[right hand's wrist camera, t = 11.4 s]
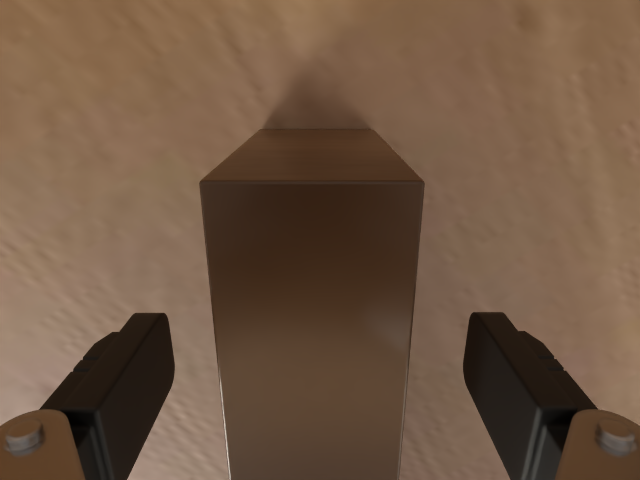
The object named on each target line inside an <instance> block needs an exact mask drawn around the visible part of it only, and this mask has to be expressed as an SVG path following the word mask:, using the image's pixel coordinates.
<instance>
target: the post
mask: <svg viewBox="0 0 640 480" xmlns="http://www.w3.org/2000/svg"><path fill="white" fill-rule="evenodd" d="M199 185H200V195H201V205H202V215H203V225H204V235H205V244H206V254H207V264H208V274H209V284H210V294H211V304H212V314H213V324H214V334H215V343H216V353H217V363H218V373H219V383H220V393H221V403H222V413H223V423H224V433H225V442H226V452H227V462H228V472H229V480H399V473H400V461H401V450H402V438H403V427H404V415H405V404H406V392H407V381H408V369H409V358H410V346H411V335H412V323H413V312H414V300H415V289H416V277H417V266H418V254H419V243H420V231H421V219H422V208H423V196H424V185H425V183H424V181H423V180H422V179H421V178H420V177H419V176H418V175H417V174H416V173H415V172H414V171H413V170H412V169H411V168H410V167H409V166H408V165H407V164H406V162H405V161H404V160H403V159H402V158H401V157H400V156H399V155H398V154H397V153H396V152H395V151H394V150H393V149H392V148H391V147H390V146H389V145H388V144H387V143H386V142H385V141H384V140H383V139H382V138H381V137H380V136H379V135H378V134H377V133H376V132H375V131H374V130H373V129H261V130H259V131H258V132H257V133H256V134H254V135H253V136H252V137H251V138H250V139H249V140H247V141H246V142H245V143H244V144H243V145H242V146H240V147H239V148H238V149H237V150H236V151H235V152H233V153H232V154H231V155H230V156H229V157H228V158H226V159H225V160H224V161H223V162H222V163H221V164H220V165H218V166H217V167H216V168H215V169H214V170H213V171H211V172H210V173H209V174H208V175H207V176H206V177H204V178H203V179H202V180H201V181H200V183H199Z"/></svg>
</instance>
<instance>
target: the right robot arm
mask: <svg viewBox="0 0 640 480" xmlns="http://www.w3.org/2000/svg"><path fill="white" fill-rule="evenodd" d="M174 371H175V364H174V356H173V349H172V342H171V335H170V328H169V321H168V317H167V315H166V314H165V313H135V314H133V315H132V316H131V318H130V319H129V320H128V321H127V323H126V324H125V325H124V327H123V328H122V329H121V330H120V332H112V333H110V334H109V335H107V336H106V337H104V338H103V339H101V340H100V341H98V342H96V343H95V344H94V345H93V346H92V347H91V349H90V350H89V351H88V352H87V353H86V355H85V356H84V357H83V360H80V362H79V363H78V364H77V365H76V366H75V368H74V369H73V372H70V374H69V375H68V376H67V377H66V378H65V379H64V381H63V382H62V383H61V384H60V385H59V387H58V388H57V389H56V390H55V391H54V392H53V394H52V395H51V396H50V397H49V398H48V400H47V401H46V402H45V403H44V404H43V406H42V407H41V408H40V409H39V410H36V411H32V412H28V413H25V414H22V415H20V416H17V417H15V418H13V419H11V420H9V421H8V422H6V423H4V424H3V425H1V426H0V480H127V478H128V476H129V474H130V472H131V470H132V468H133V466H134V464H135V462H136V460H137V458H138V456H139V453H140V451H141V449H142V447H143V445H144V443H145V441H146V439H147V437H148V435H149V433H150V430H151V428H152V426H153V424H154V422H155V420H156V418H157V416H158V414H159V412H160V410H161V407H162V405H163V403H164V401H165V399H166V397H167V395H168V393H169V391H170V389H171V386H172V383H173V379H174ZM463 373H464V379H465V383H466V386H467V388H468V390H469V392H470V395H471V397H472V399H473V401H474V403H475V405H476V407H477V409H478V412H479V414H480V416H481V418H482V420H483V422H484V424H485V426H486V428H487V431H488V433H489V435H490V437H491V439H492V441H493V443H494V445H495V447H496V450H497V452H498V454H499V456H500V458H501V460H502V462H503V464H504V467H505V469H506V471H507V473H508V475H509V477H510V479H511V480H640V426H639V425H637V424H636V423H634V422H632V421H631V420H629V419H627V418H625V417H623V416H620V415H618V414H615V413H612V412H608V411H604V410H598V409H597V407H596V406H595V405H594V404H593V403H592V401H591V400H590V399H589V398H588V397H587V395H586V394H585V393H584V392H583V391H582V389H581V388H580V387H579V386H578V385H577V383H576V382H575V381H574V380H573V379H572V377H571V376H570V375H569V374H568V373H567V371H564V369H563V367H562V365H561V364H560V363H559V362H558V361H557V359H554V356H553V355H552V353H551V352H550V351H549V350H548V349H547V347H546V346H545V345H544V344H543V343H542V342H541V341H539V340H538V339H536V338H534V337H533V336H531V335H530V334H528V333H527V332H525V331H518V330H517V329H516V328H515V327H514V325H513V324H512V323H511V321H510V320H509V319H508V318H507V316H506V315H505V314H504V313H502V312H473V313H472V314H471V316H470V319H469V325H468V332H467V339H466V346H465V354H464V361H463Z"/></svg>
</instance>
